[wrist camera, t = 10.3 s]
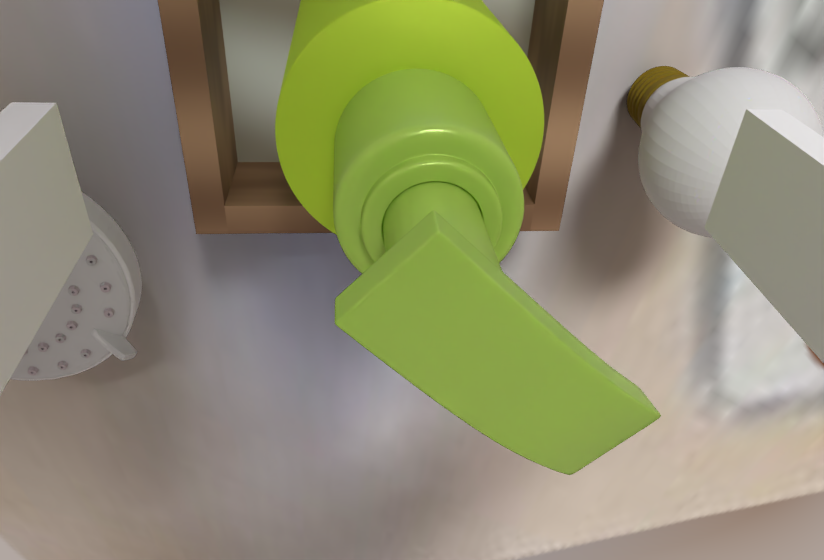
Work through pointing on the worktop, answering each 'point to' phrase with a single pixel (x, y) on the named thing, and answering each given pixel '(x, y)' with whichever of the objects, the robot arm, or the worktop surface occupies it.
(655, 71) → the light bulb
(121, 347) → the showerhead
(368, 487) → the worktop surface
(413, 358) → the soap dispenser
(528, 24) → the wooden box
